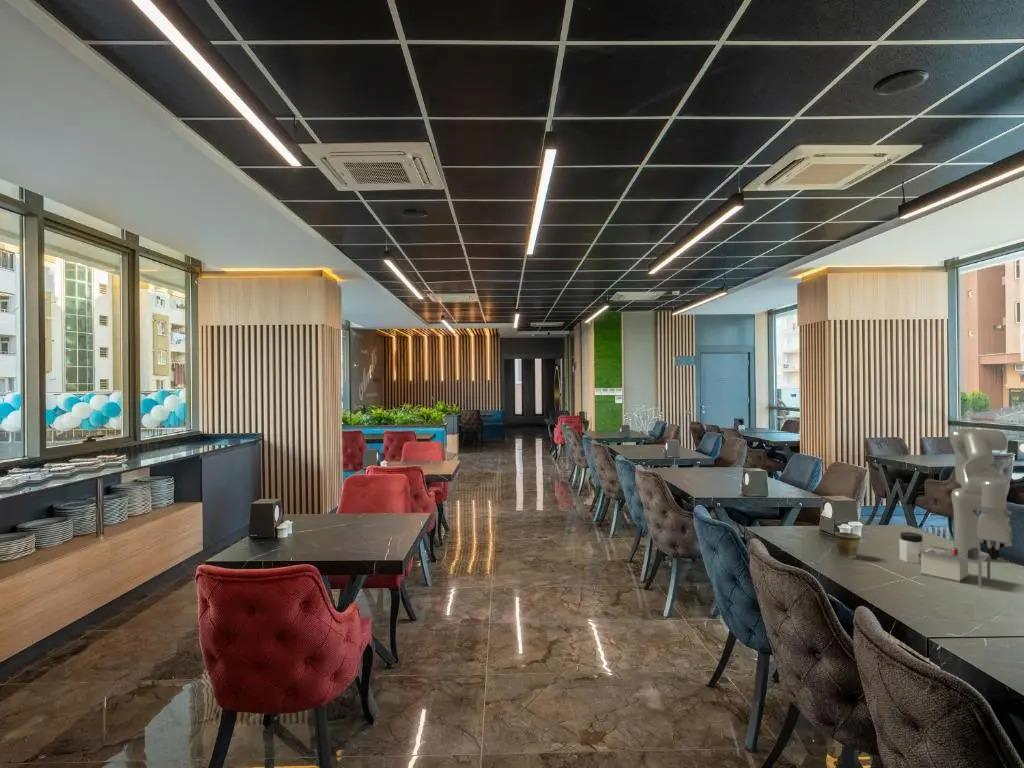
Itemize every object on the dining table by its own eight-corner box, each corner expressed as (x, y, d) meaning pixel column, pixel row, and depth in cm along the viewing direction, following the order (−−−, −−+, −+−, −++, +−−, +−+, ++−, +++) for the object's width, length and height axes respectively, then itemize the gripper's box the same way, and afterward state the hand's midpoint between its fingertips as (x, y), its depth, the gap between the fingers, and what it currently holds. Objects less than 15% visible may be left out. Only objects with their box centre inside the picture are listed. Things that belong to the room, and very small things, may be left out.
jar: (917, 564, 257) (917, 537, 257) (896, 560, 263) (896, 533, 264) (926, 561, 261) (926, 534, 262) (906, 557, 268) (905, 531, 268)
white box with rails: (925, 567, 252) (925, 544, 252) (990, 580, 235) (990, 555, 235) (914, 573, 244) (914, 549, 244) (981, 587, 226) (980, 562, 227)
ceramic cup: (864, 559, 264) (864, 537, 264) (842, 559, 264) (842, 537, 264) (849, 551, 277) (848, 530, 277) (827, 551, 277) (827, 530, 277)
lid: (948, 551, 245) (948, 542, 245) (987, 558, 235) (987, 548, 235) (940, 556, 238) (940, 546, 238) (980, 563, 228) (980, 553, 228)
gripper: (1020, 513, 226) (1021, 561, 225) (972, 507, 237) (973, 553, 237) (1016, 516, 221) (1016, 565, 221) (967, 510, 232) (967, 556, 232)
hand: (994, 558), depth 229 cm, fingers closed
